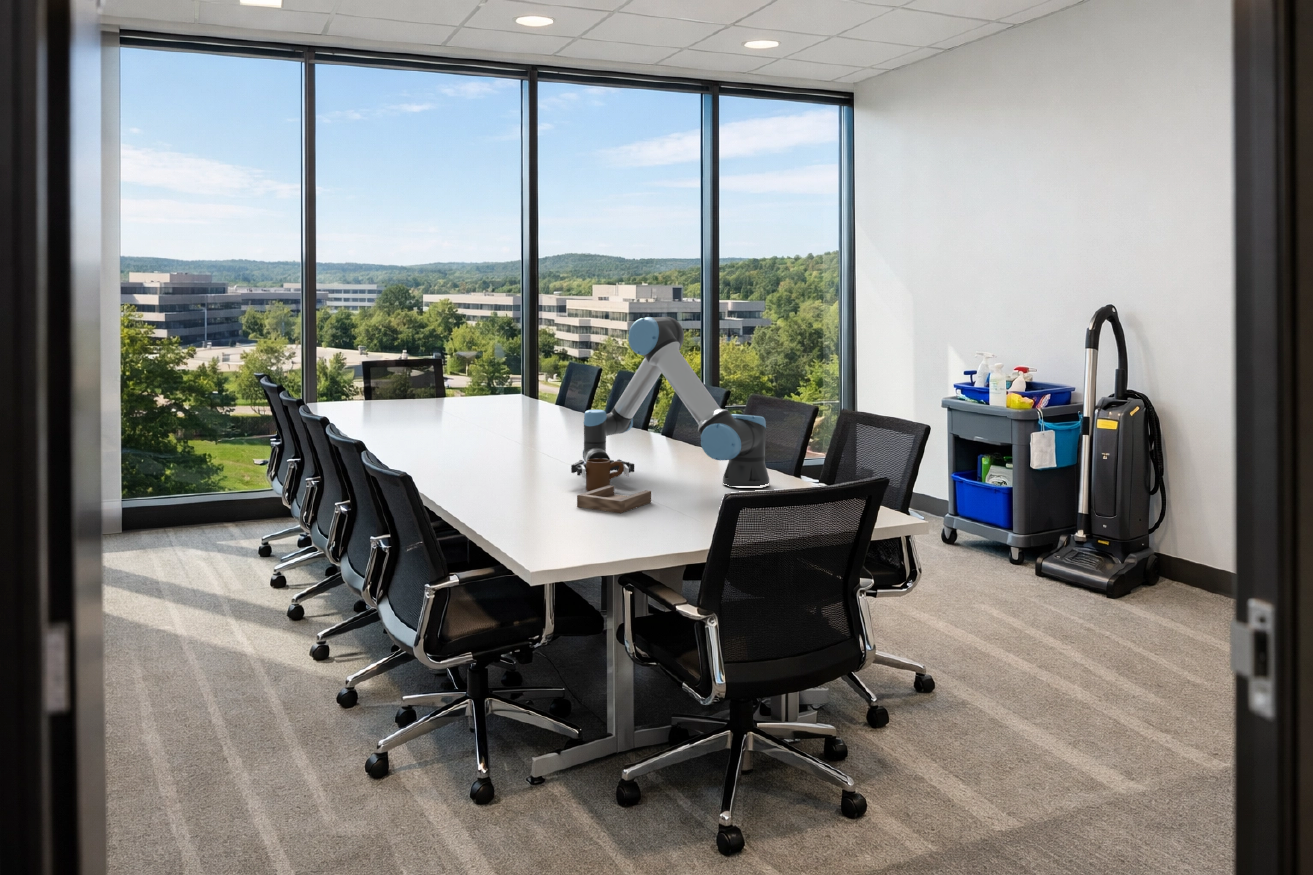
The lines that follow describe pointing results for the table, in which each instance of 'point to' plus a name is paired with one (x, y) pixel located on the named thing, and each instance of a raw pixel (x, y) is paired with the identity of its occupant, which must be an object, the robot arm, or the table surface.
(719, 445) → the robot arm
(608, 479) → the mug
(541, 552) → the table surface
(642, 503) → the u rest
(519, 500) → the table surface
